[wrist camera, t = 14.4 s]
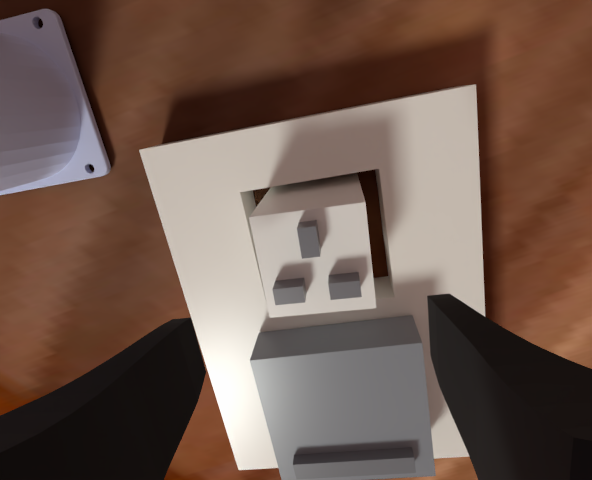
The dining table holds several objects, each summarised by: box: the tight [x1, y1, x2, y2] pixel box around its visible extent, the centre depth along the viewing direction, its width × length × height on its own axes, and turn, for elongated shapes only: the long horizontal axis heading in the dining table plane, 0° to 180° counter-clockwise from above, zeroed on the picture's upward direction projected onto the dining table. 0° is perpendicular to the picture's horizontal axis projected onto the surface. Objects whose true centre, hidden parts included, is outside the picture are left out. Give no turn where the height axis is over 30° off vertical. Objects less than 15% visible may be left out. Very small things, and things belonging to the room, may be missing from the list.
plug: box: [249, 174, 376, 318], centre depth 18 cm, size 4×4×7 cm
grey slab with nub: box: [250, 315, 436, 480], centre depth 20 cm, size 8×8×3 cm
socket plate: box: [139, 84, 485, 470], centre depth 22 cm, size 15×20×2 cm
